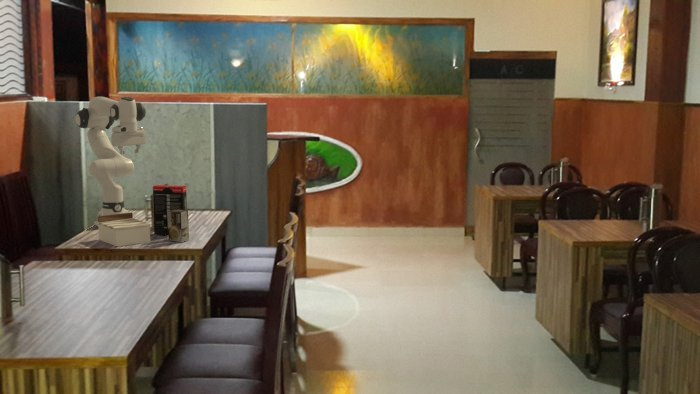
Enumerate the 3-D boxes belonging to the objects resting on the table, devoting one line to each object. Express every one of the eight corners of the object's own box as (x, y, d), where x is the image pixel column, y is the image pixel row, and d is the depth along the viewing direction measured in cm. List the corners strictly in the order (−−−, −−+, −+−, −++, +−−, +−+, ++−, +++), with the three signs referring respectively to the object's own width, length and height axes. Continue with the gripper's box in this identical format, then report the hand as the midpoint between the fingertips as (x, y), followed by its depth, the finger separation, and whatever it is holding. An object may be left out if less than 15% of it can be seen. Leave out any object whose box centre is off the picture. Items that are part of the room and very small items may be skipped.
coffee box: (189, 240, 387) (188, 210, 385) (181, 242, 381) (181, 212, 379) (175, 238, 391) (174, 208, 389) (167, 241, 385) (166, 210, 383)
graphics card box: (188, 234, 403) (187, 184, 399) (184, 236, 397) (182, 186, 392) (158, 233, 405) (156, 184, 401) (153, 236, 398) (151, 186, 394)
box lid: (97, 223, 383) (97, 216, 383) (131, 219, 395) (130, 212, 395) (115, 230, 367) (115, 222, 366) (150, 225, 379) (150, 218, 378)
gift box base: (99, 241, 385) (98, 224, 383) (131, 236, 397) (131, 220, 395) (116, 248, 368) (116, 230, 367) (150, 243, 380) (149, 226, 379)
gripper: (140, 126, 404) (141, 152, 406) (109, 128, 388) (110, 154, 390) (148, 127, 400) (148, 152, 403) (116, 129, 384) (117, 155, 386)
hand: (129, 153), depth 396 cm, fingers open, 8 cm apart
